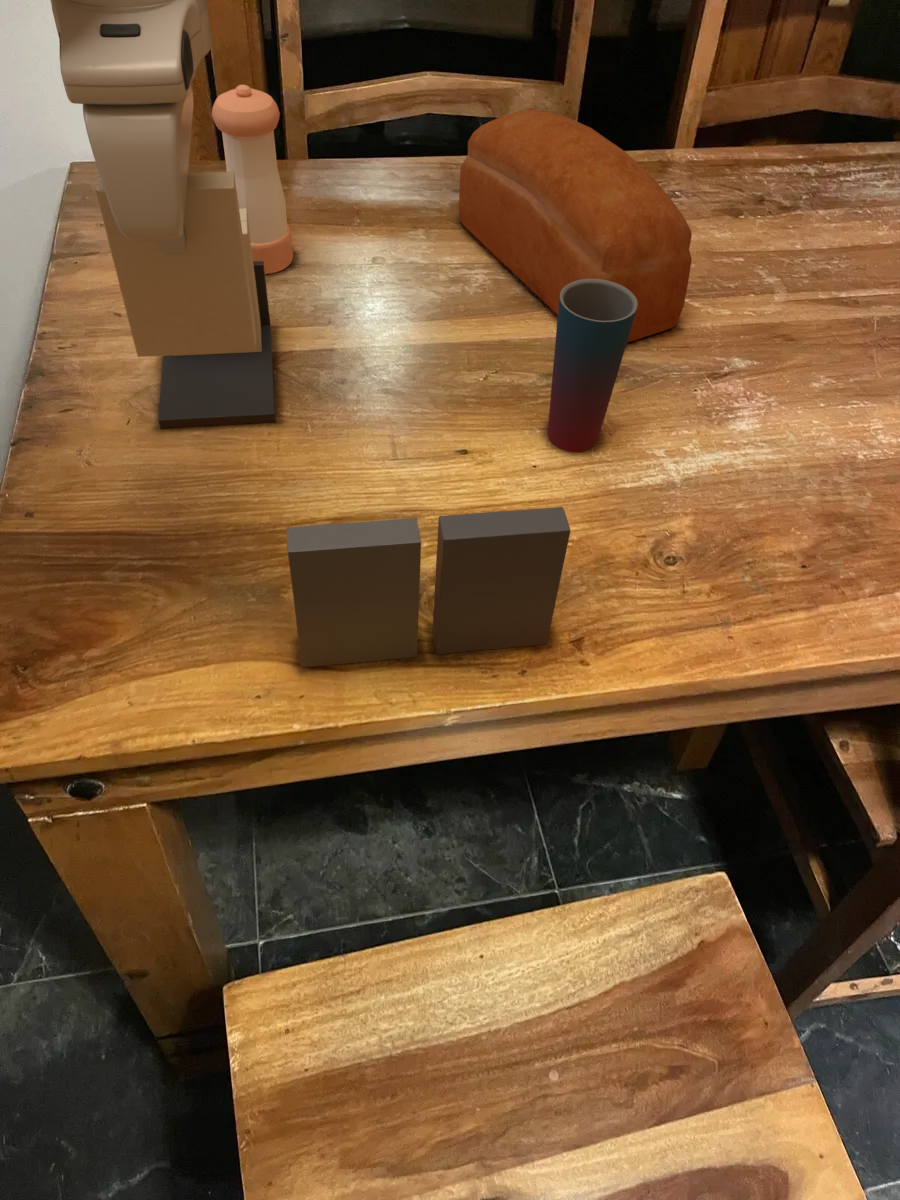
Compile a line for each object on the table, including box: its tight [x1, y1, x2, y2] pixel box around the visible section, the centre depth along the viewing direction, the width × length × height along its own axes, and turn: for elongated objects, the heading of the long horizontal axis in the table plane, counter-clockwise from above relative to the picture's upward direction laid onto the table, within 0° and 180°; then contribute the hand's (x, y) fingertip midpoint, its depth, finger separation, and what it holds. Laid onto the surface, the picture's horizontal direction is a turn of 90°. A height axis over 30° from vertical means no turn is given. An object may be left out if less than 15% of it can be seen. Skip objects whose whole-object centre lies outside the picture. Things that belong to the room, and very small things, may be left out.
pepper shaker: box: [211, 84, 294, 275], centre depth 103 cm, size 7×7×19 cm
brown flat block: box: [95, 171, 256, 358], centre depth 68 cm, size 9×2×13 cm, turn 98°
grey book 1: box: [286, 517, 422, 668], centre depth 69 cm, size 9×2×13 cm, turn 99°
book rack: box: [157, 208, 277, 429], centre depth 90 cm, size 11×16×14 cm
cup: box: [547, 279, 638, 453], centre depth 86 cm, size 7×7×15 cm
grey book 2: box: [431, 506, 571, 655], centre depth 70 cm, size 9×2×13 cm, turn 99°
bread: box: [458, 108, 693, 343], centre depth 107 cm, size 14×33×16 cm, turn 28°
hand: (175, 235), depth 66 cm, fingers closed on brown flat block, 2 cm apart
